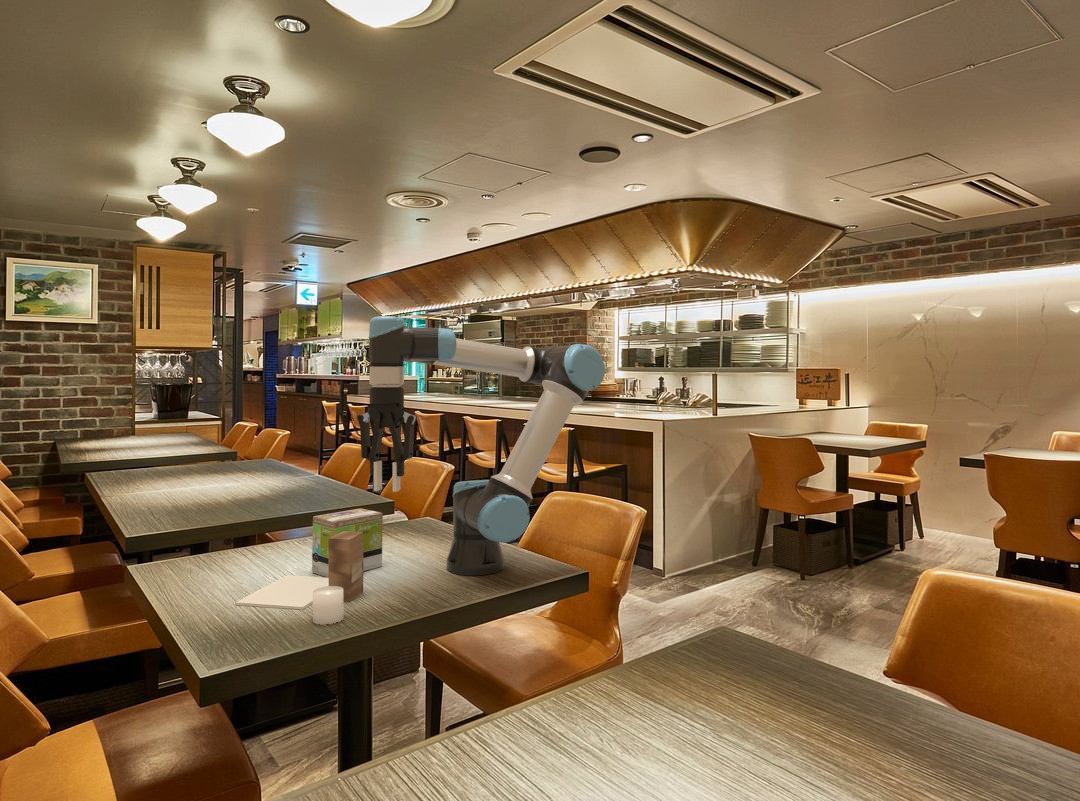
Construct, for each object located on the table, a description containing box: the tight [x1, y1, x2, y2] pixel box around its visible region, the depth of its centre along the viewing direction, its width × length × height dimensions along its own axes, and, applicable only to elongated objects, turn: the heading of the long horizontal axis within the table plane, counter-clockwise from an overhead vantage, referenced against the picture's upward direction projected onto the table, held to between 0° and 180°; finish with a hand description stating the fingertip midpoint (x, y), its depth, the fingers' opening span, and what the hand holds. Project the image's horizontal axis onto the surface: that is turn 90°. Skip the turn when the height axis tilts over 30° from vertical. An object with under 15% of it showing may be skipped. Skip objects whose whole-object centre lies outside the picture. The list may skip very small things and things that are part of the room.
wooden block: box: [328, 531, 364, 603], centre depth 148 cm, size 5×7×14 cm
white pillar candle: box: [312, 586, 345, 626], centre depth 134 cm, size 6×6×6 cm
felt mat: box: [235, 574, 329, 611], centre depth 150 cm, size 16×20×1 cm
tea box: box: [311, 507, 384, 578], centre depth 168 cm, size 15×10×15 cm, turn 143°
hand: (387, 490), depth 146 cm, fingers open, 4 cm apart
